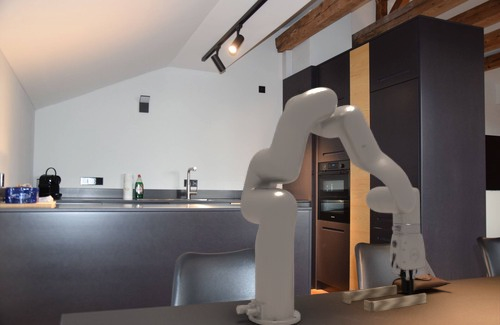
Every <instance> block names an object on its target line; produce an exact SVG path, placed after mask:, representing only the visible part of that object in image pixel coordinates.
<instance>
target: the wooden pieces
mask: <svg viewBox="0 0 500 325" xmlns="http://www.w3.org/2000/svg"><path fill="white" fill-rule="evenodd" d="M341 293H342V295H341V296H342V297H341V298H342V301H341V302H342V303H346V304H348V305H351V304H352V302H353V301H355V302H356V301H362V300H363V311H366V312H370V313H377V312H381V311H382V312H383V311H388V310H394V309H399V308H400V309H401V308H404V307H410V306H416V305H421V304H422V305H424V304H427V293H425V292H423V293H418V294H409V295H404V296H398V297H393V298H385V299H381V300H380V299H379V300H374V301H372V300H371V301H370V300H368V299H373V298H380V297H386V296H393V295H397V294H398V292H397V286H396V285H392V284H391V285H386V286H379V287H373V288H372V287H371V288H367V289H358V290H352V291H351V290H350V291H344V292H341Z"/></svg>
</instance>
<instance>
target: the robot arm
mask: <svg viewBox="0 0 500 325" xmlns="http://www.w3.org/2000/svg"><path fill="white" fill-rule="evenodd" d="M338 102H339V101H338V96H337V94H336V92H335V91H334V90H332V89H331V88H329V87H326V86H325V87H322V86H321V87H315V88H311V89H309V90H307V91H305V92H303V93H301V94H300V93H299V94H297V95H295V96H292V97H291V98H290V99H288V100H287V102H286V103H285V106H284V109H283V112H282V113H281V115H280V117H279V118H278V122H277V124H276V127H275V131H274V134H273V137H272V141H271V144H270V146H269V147H268V148H262V149H260V150H258V151H257V152H256V153H255V154H254V155H252V157H251V159H250V161H249V165H248V167H247V171H246V175H245V178H244V179H245V180H244V182H243V187H242V193H241V198H240V212H241V214H242V216H243V218H244V219H245V220H246V221H247V222H249V223H252V224H255V225H258V229H257V233H256V237H255V242H254V243H255V244H254V256H255V258H254V259H255V260H254V265H255V266H254V269H255V270H254V279H255V280H254V298H251V299H250V302H248V303H247V304H241V305H237V306H236V314H238V315H243V314H246V315H247V316H248V319H249V321H251V322H253V324H258V325H294V324H297V323H298V322H300V321H301V318H302V317H301V313H300V312H299V311H298V310H296V309H295V235H296V234H295V233H296V232H295V231H296V226H297V220H298V214H299V206H298V202H297V200H296V198H295V197H294V194H292V193H291V192H290V191H288V190H286V189H283V188H279V187H278V185H285V184H286V185H287V184H291V183H293V182H295V181H296V180H298V178H299V175H300V173H301V170H302V166H303V161H304V157H305V152H306V148H307V142H308V141H309V140H308V139H309V136H310V134H311V133H312V134H314V135H316V136H319V137H321V138H327V139H334V138H339V140H340V142H341V144H342V146H343V148H344V150H345V152H346V154H347V156H348V158H349V161H350V162H351V163H352V165H353V166H355V167H357V168H358V169H359V170H361V171H364V172H366V173H368V174H371V175H373V176H374V177H375V178H377V179H378V180H380V181H381V182H382V183H383V184H384V185H385V186H376V187H373V188H371V189H370V190H368V192H367V194H366V197H365V202H366V205H367V207H368V208H369V209H370V210H372V211H374V212H377V213H380V214H381V213H383V214H392V226H391V230H392V235H391V241H390V249H389V251H390V252H389V260H390V261H389V262H390V266H391V268H392V271H391V272H392V274H396V275H398V278H401V291H402V292H404V293H403V294H408V295H413V294H414V293H415V291H414V280H413V279H415V276H417V273H419V272H421V271H422V269H424V268H425V267H426V262H427V261H426V248H425V243H424V237H423V234H422V233H421V208H420V207H421V202H420V200H421V199H420V197H421V196H420V190H419V188H417V187H413V185H412V183H411V181H410V179H409V177H408V175H407V174H406V172H405V171H404V170H403V169H402V167H401V166H400V165H398V163H397V162H395V161H394V160H393V159H392V158H391V157H389V156H388V155H387V154H386V153H384V152H383V151H382V150H381V148H380V146H379V144H378V142H377V140H376V138H375V137H374V136H375V135H374V134H373V131H372V130H371V128H370V125H369V123H368V121H367V119H366V117H365V115H364V113H363V111H362V110H361V108H360V107H358V106H357V105H354V104H350V105H349V104H347V105H346V104H345V105H341V106H338Z"/></svg>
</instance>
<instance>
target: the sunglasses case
mask: <svg viewBox="0 0 500 325" xmlns="http://www.w3.org/2000/svg"><path fill="white" fill-rule="evenodd" d="M413 280H414V292H416V291H418V290H419V291H420V290H428V289H433V288H434V289H436V288H440V287H444V286H446V285H447V286H448V285H450V284H451V282H449V281H447V280H444V279H442V278H439V277H436V276H433V275H431V274H430V273H426V274H420V275H416V276H415V279H413ZM392 285H396V286H397V294H398V293H402V294H405V293H404V292H402V291H401V278H400V277H397V278H395V279H394V280H393V281H392V283H391V286H392Z"/></svg>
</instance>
